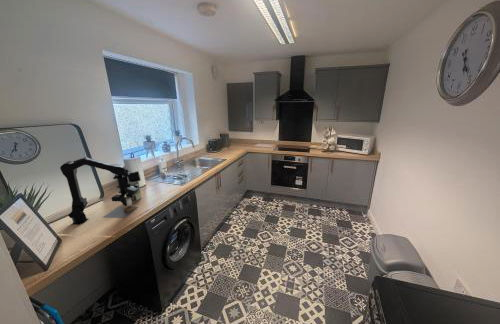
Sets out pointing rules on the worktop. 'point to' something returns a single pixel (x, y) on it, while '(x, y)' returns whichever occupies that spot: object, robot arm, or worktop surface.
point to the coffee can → (137, 195)
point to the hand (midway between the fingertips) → (128, 204)
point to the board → (118, 213)
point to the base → (129, 208)
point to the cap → (129, 201)
